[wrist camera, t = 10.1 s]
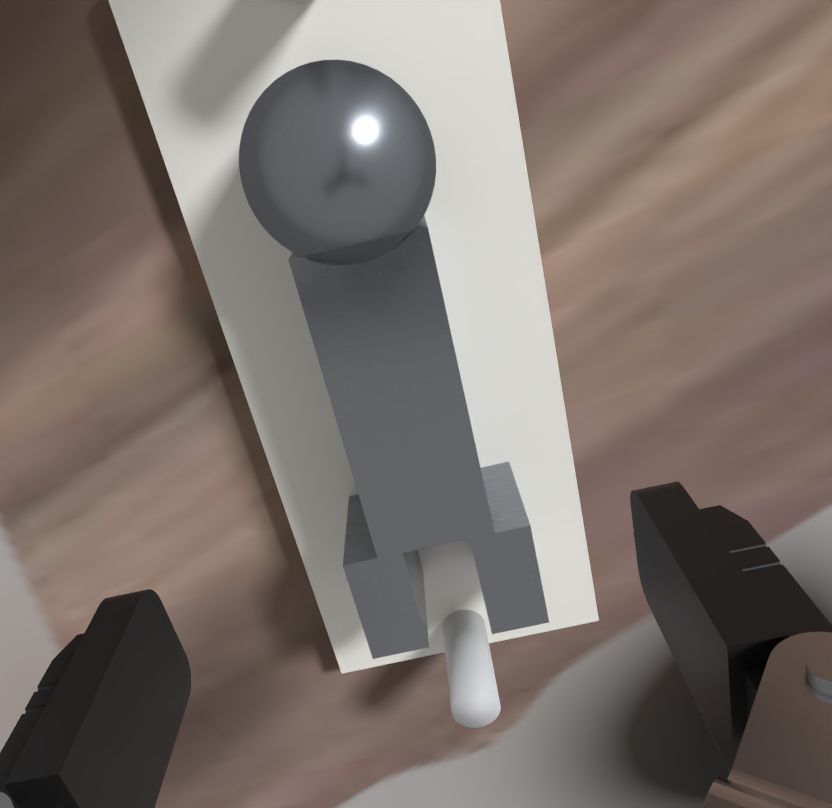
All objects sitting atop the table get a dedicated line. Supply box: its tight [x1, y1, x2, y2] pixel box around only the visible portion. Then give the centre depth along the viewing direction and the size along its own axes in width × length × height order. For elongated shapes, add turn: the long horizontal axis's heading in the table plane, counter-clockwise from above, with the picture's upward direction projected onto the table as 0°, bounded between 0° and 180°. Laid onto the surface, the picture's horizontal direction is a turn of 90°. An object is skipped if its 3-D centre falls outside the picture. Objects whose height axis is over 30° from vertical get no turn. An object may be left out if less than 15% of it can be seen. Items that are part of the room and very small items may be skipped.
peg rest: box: [108, 0, 599, 728], centre depth 22 cm, size 24×10×5 cm, turn 13°
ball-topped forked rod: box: [239, 60, 549, 659], centre depth 21 cm, size 17×6×4 cm, turn 13°
